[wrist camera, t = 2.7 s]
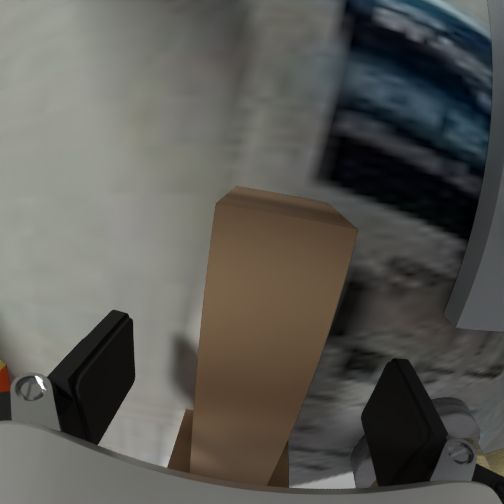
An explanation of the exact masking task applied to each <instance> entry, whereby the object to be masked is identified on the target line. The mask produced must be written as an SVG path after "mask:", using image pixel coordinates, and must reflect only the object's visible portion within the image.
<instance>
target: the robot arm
mask: <svg viewBox="0 0 504 504" xmlns="http://www.w3.org/2000/svg"><path fill="white" fill-rule="evenodd" d="M134 380H135V362H134V340H133V320H132V319H131V318H129V315H128V314H127V313H124V312H120V311H117V310H112V311H111V312H110V313H109V314H108V315H107V316H106V317H105V318H104V319H103V320H102V321H101V322H100V323H99V324H98V325H97V326H96V327H95V328H94V329H93V330H92V331H91V332H90V333H89V334H88V335H87V336H86V337H85V338H84V339H82V340H81V341H80V342H79V343H78V344H77V345H76V347H75V348H74V349H73V350H72V351H71V352H70V353H69V354H68V355H67V356H66V357H65V358H64V359H63V360H62V361H61V362H60V363H59V365H58V366H57V367H56V368H55V369H54V370H53V371H52V372H51V373H50V374H49V375H48V377H45V376H44V375H42V374H39V373H25V374H22V375H20V376H18V377H17V378H16V379H14V381H13V382H12V384H11V389H10V391H6V392H0V504H504V477H503V476H501V475H499V474H497V473H495V472H493V471H491V470H489V469H487V468H485V467H483V466H481V465H479V464H477V463H476V462H477V452H476V450H475V448H474V447H473V445H471V444H470V443H469V442H468V441H466V440H464V439H461V438H453V439H450V440H449V441H447V439H446V436H447V435H448V432H447V430H446V428H445V426H444V424H443V422H442V420H441V418H440V416H439V414H438V412H437V410H436V409H435V407H434V405H433V403H432V401H431V399H430V397H429V396H428V394H427V392H426V390H425V388H424V386H423V385H422V383H421V381H420V379H419V378H418V376H417V374H416V372H415V370H414V369H413V367H412V365H411V363H410V362H409V360H407V359H396V358H394V359H392V360H391V362H388V363H387V364H386V366H385V368H384V370H383V373H382V375H381V377H380V379H379V381H378V383H377V385H376V387H375V389H374V391H373V393H372V395H371V397H370V399H369V401H368V403H367V405H366V406H365V408H364V410H363V412H362V416H361V420H362V424H363V428H364V432H365V436H366V439H367V443H368V447H369V451H370V455H371V459H372V463H373V467H374V471H375V476H376V480H377V484H378V486H379V487H371V488H354V489H303V488H285V487H272V486H262V485H253V484H245V483H238V482H232V481H225V480H220V479H214V478H209V477H204V476H199V475H194V474H190V473H185V472H181V471H177V470H173V469H169V468H165V467H162V466H158V465H155V464H151V463H148V462H144V461H141V460H138V459H135V458H132V457H129V456H126V455H123V454H120V453H117V452H114V451H111V450H108V449H106V448H103V447H100V446H98V444H99V442H100V440H101V439H102V437H103V435H104V433H105V432H106V430H107V428H108V426H109V425H110V423H111V421H112V419H113V418H114V416H115V414H116V412H117V411H118V409H119V407H120V405H121V404H122V402H123V400H124V399H125V397H126V395H127V393H128V392H129V390H130V388H131V387H132V385H133V383H134Z"/></svg>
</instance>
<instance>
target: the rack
mask: <svg viewBox="0 0 504 504" xmlns="http://www.w3.org/2000/svg"><path fill="white" fill-rule="evenodd" d="M487 3H488V11H489V19H490V28H491V41H492V62H493V90H492V112H491V125H490V135H489V144H488V151H487V159H486V165H485V171H484V177H483V183H482V188H481V193H480V198H479V202H478V207H477V211H476V215H475V219H474V223H473V227H472V231H471V235H470V238H469V242H468V245H467V249H466V252H465V255H464V258H463V262H462V265H461V268H460V271H459V274H458V277H457V279H456V282H455V285H454V288H453V291H452V293H451V296H450V299H449V301H448V304H447V306H446V309H445V311H444V314H443V315H444V316H445V317H446V318H447V319H448V320H449V322H450V323H451V324H452V325H453V326H454V327H455V328H460V329H472V330H485V331H499V332H504V0H487Z"/></svg>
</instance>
